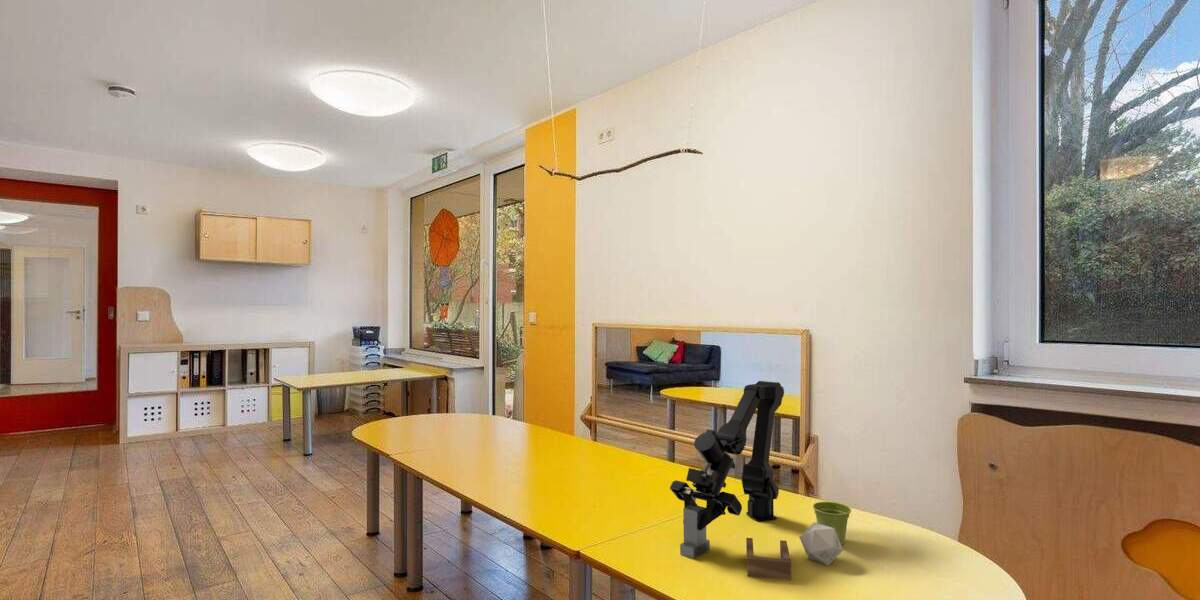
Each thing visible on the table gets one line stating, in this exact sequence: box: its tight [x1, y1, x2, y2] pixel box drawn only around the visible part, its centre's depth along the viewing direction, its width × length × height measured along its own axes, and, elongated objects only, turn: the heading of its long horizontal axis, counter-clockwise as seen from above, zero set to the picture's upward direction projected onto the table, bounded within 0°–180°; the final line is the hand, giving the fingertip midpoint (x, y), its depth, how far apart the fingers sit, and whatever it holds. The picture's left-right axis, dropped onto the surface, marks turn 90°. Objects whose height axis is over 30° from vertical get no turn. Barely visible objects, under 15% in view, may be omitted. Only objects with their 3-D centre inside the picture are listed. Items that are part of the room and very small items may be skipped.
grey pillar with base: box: [679, 504, 711, 560], centre depth 146 cm, size 7×4×11 cm, turn 136°
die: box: [799, 522, 844, 566], centre depth 141 cm, size 8×9×10 cm
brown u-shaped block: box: [745, 537, 792, 581], centre depth 138 cm, size 12×10×4 cm
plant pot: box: [812, 501, 852, 545], centre depth 152 cm, size 9×9×9 cm
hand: (691, 527), depth 145 cm, fingers closed on grey pillar with base, 4 cm apart
